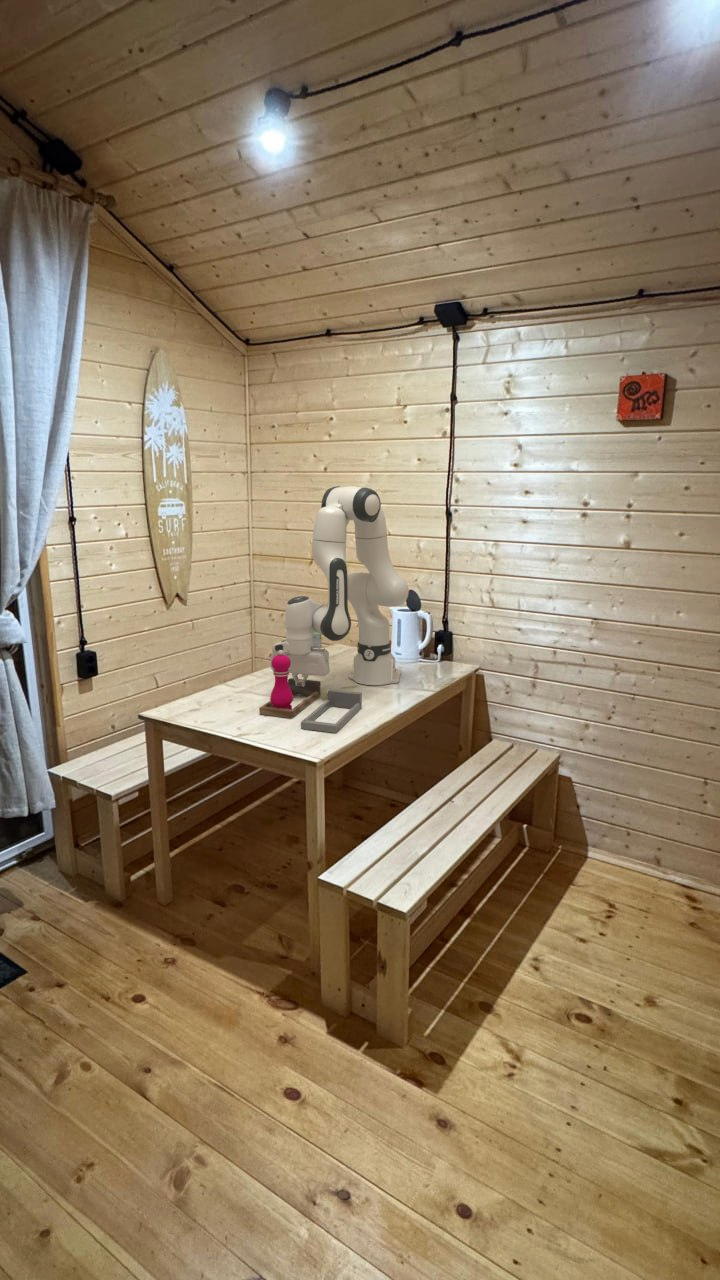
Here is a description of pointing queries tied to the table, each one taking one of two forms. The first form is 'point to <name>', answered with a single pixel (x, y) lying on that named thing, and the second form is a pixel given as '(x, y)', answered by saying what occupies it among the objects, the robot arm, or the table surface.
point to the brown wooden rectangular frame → (309, 690)
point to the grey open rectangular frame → (338, 700)
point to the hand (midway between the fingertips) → (300, 685)
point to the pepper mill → (281, 682)
